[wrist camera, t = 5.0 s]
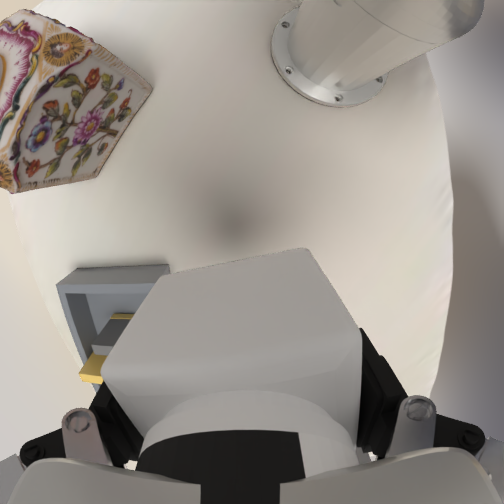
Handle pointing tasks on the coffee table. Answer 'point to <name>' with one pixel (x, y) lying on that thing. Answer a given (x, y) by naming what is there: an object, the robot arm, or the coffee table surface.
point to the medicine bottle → (241, 377)
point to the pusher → (104, 347)
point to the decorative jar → (59, 103)
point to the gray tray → (103, 299)
